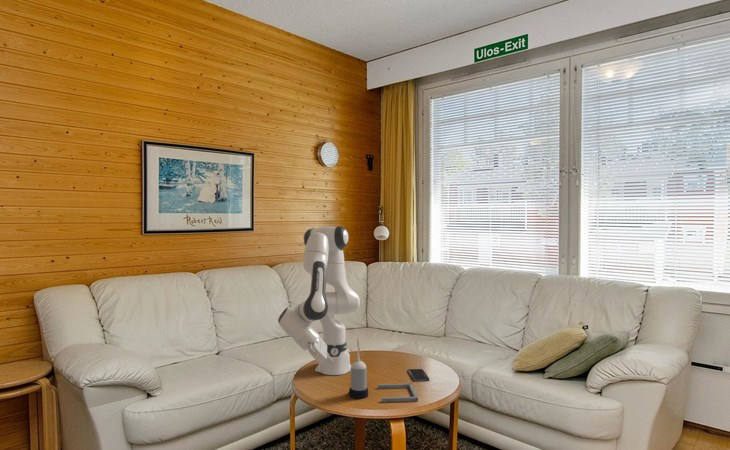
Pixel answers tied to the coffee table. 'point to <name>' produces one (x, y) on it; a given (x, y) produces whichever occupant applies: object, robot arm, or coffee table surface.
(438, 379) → the coffee table surface
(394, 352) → the coffee table surface
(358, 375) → the humidifier
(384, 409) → the coffee table surface
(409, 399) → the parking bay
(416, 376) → the phone
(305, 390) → the coffee table surface
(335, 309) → the robot arm
